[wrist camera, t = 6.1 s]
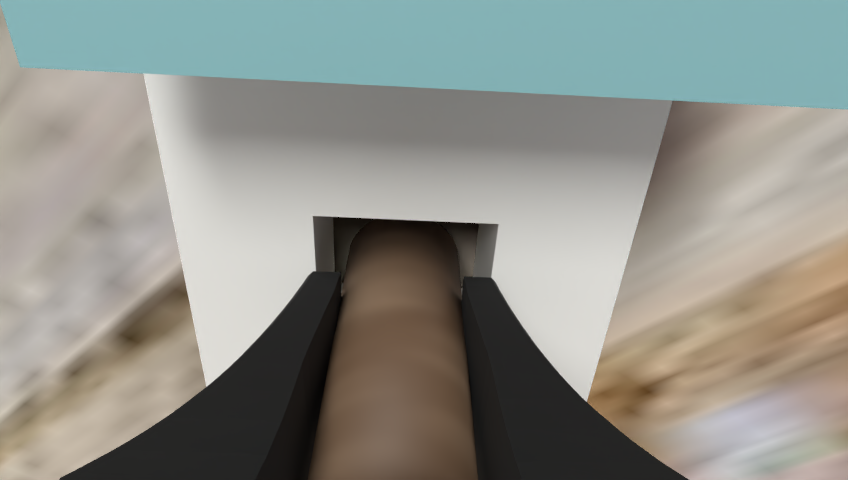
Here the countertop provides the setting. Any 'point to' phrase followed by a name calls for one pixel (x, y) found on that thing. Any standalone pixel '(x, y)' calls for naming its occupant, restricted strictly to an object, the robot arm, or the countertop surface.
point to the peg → (398, 362)
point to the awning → (462, 44)
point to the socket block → (402, 195)
